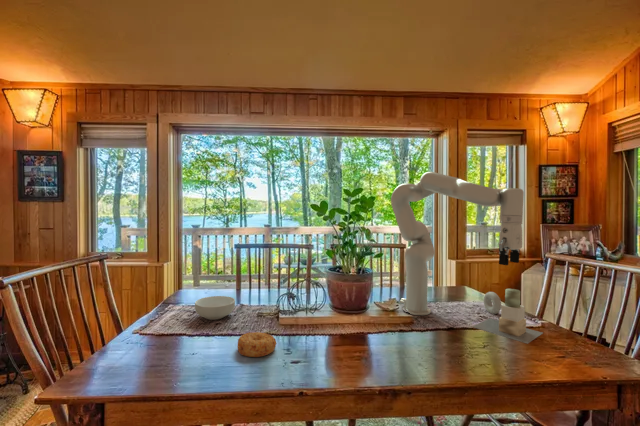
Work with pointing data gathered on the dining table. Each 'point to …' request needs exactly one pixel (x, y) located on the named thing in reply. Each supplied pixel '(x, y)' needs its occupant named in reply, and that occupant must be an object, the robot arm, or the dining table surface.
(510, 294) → the cylinder
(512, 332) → the base block
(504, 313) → the top block
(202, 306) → the cereal bowl
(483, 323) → the tile
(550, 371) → the dining table surface
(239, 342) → the bagel
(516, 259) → the robot arm
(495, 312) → the donut
